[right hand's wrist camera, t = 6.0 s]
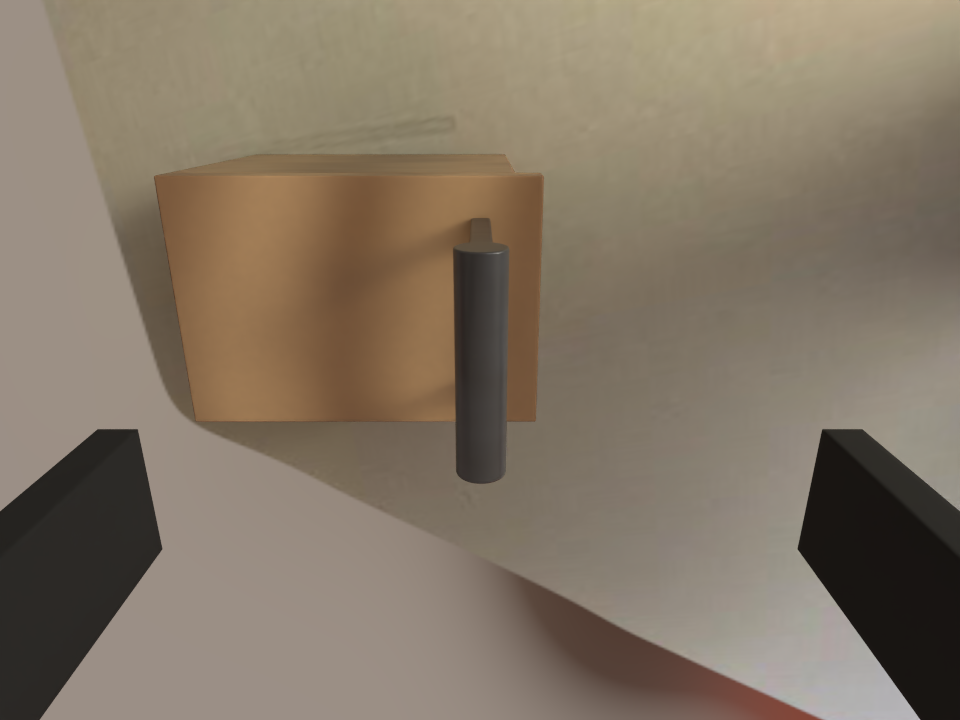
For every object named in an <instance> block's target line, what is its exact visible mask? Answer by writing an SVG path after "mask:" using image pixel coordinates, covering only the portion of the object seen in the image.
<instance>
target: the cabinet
mask: <svg viewBox="0 0 960 720" xmlns="http://www.w3.org/2000/svg"><path fill="white" fill-rule="evenodd" d="M171 173H515V172H514V170H513V168H512V166H511V165H510V163H509V161H508V159H507V157H506V155H252V156H247V157H242V158H238V159H233V160H228V161H223V162H218V163H214V164H209V165H204V166H199V167H195V168H190V169H185V170H180V171H176V172H171Z"/></svg>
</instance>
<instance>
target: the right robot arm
mask: <svg viewBox="0 0 960 720" xmlns="http://www.w3.org/2000/svg"><path fill="white" fill-rule="evenodd" d="M161 550H162V545H161V540H160V536H159V531H158V526H157V521H156V516H155V511H154V506H153V501H152V497H151V492H150V487H149V482H148V477H147V472H146V467H145V463H144V458H143V453H142V448H141V443H140V438H139V433H138V430H137V429H98V430H96V431H95V432H94V433H93V434H92V435H90V436H89V437H88V438H87V439H86V440H85V441H83V442H82V443H81V444H80V445H79V446H77V447H76V448H75V449H74V450H73V451H71V452H70V453H69V454H68V455H67V456H66V457H64V458H63V459H62V460H61V461H60V462H58V463H57V464H56V465H55V466H54V467H52V468H51V469H50V470H49V471H48V472H47V473H45V474H44V475H43V476H42V477H41V478H39V479H38V480H37V481H36V482H35V483H33V484H32V485H31V486H30V487H29V488H28V489H26V490H25V491H24V492H23V493H22V494H20V495H19V496H18V497H17V498H16V499H14V500H13V501H12V502H11V503H10V504H8V505H7V506H6V507H5V508H4V509H3V510H1V511H0V720H40V718H41V717H42V716H43V714H44V713H45V711H46V710H47V709H48V707H49V706H50V704H51V703H52V702H53V700H54V699H55V697H56V696H57V695H58V693H59V692H60V691H61V689H62V688H63V686H64V685H65V684H66V682H67V681H68V679H69V678H70V677H71V675H72V674H73V672H74V671H75V670H76V668H77V667H78V666H79V664H80V663H81V661H82V660H83V659H84V657H85V656H86V654H87V653H88V652H89V650H90V649H91V647H92V646H93V645H94V643H95V642H96V641H97V639H98V638H99V636H100V635H101V634H102V632H103V631H104V629H105V628H106V627H107V625H108V624H109V622H110V621H111V620H112V618H113V617H114V616H115V614H116V613H117V611H118V610H119V609H120V607H121V606H122V604H123V603H124V602H125V600H126V599H127V597H128V596H129V595H130V593H131V592H132V591H133V589H134V588H135V586H136V585H137V584H138V582H139V581H140V579H141V578H142V577H143V575H144V574H145V572H146V571H147V570H148V568H149V567H150V566H151V564H152V563H153V561H154V560H155V559H156V557H157V556H158V554H159V553H160V552H161ZM798 550H799V552H800V553H801V554H802V556H803V557H804V559H805V560H806V561H807V563H808V564H809V566H810V567H811V568H812V570H813V571H814V572H815V574H816V575H817V577H818V578H819V579H820V581H821V582H822V584H823V585H824V586H825V588H826V589H827V591H828V592H829V593H830V595H831V596H832V597H833V599H834V600H835V602H836V603H837V604H838V606H839V607H840V609H841V610H842V611H843V613H844V614H845V616H846V617H847V618H848V620H849V621H850V622H851V624H852V625H853V627H854V628H855V629H856V631H857V632H858V634H859V635H860V636H861V638H862V639H863V641H864V642H865V643H866V645H867V646H868V647H869V649H870V650H871V652H872V653H873V654H874V656H875V657H876V659H877V660H878V661H879V663H880V664H881V666H882V667H883V668H884V670H885V671H886V672H887V674H888V675H889V677H890V678H891V679H892V681H893V682H894V684H895V685H896V686H897V688H898V689H899V691H900V692H901V693H902V695H903V696H904V697H905V699H906V700H907V702H908V703H909V704H910V706H911V707H912V709H913V710H914V711H915V713H916V714H917V716H918V717H919V718H920V720H960V511H959V510H957V509H956V508H955V507H954V506H953V505H952V504H950V503H949V502H948V501H947V500H946V499H944V498H943V497H942V496H941V495H940V494H938V493H937V492H936V491H935V490H934V489H933V488H931V487H930V486H929V485H928V484H927V483H925V482H924V481H923V480H922V479H921V478H919V477H918V476H917V475H916V474H915V473H913V472H912V471H911V470H910V469H909V468H908V467H906V466H905V465H904V464H903V463H902V462H900V461H899V460H898V459H897V458H896V457H894V456H893V455H892V454H891V453H890V452H889V451H887V450H886V449H885V448H884V447H883V446H881V445H880V444H879V443H878V442H877V441H875V440H874V439H873V438H872V437H871V436H869V435H868V434H867V433H866V432H865V431H864V430H862V429H822V433H821V438H820V443H819V448H818V453H817V458H816V462H815V467H814V472H813V477H812V482H811V487H810V492H809V496H808V501H807V506H806V511H805V516H804V521H803V526H802V530H801V535H800V540H799V545H798Z"/></svg>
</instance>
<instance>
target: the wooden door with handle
mask: <svg viewBox="0 0 960 720" xmlns="http://www.w3.org/2000/svg"><path fill="white" fill-rule="evenodd" d="M154 179H155V185H156V191H157V197H158V203H159V209H160V215H161V221H162V226H163V232H164V238H165V244H166V250H167V256H168V262H169V268H170V273H171V279H172V285H173V291H174V297H175V303H176V309H177V315H178V320H179V326H180V332H181V338H182V344H183V350H184V356H185V362H186V367H187V373H188V379H189V385H190V391H191V397H192V403H193V409H194V414H195V420H196V421H197V422H269V421H456V472H457V474H458V476H459V477H460V478H461V479H463V480H465V481H468V482H471V483H478V484H485V483H491V482H495V481H497V480H499V479H501V478H502V477H503V476H504V474H505V472H506V430H507V421H535V420H536V397H537V367H538V337H539V307H540V277H541V247H542V217H543V187H544V176H543V175H542V174H541V173H166V174H161V175H156V176H154Z"/></svg>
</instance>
